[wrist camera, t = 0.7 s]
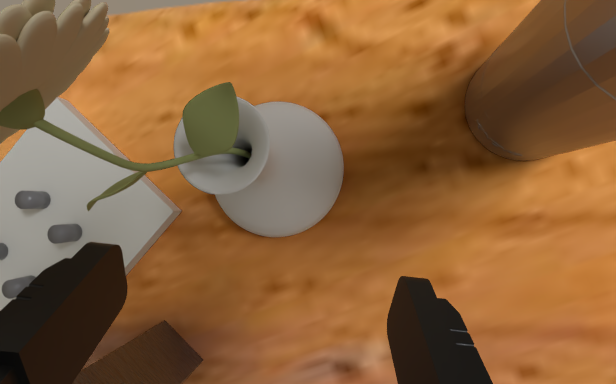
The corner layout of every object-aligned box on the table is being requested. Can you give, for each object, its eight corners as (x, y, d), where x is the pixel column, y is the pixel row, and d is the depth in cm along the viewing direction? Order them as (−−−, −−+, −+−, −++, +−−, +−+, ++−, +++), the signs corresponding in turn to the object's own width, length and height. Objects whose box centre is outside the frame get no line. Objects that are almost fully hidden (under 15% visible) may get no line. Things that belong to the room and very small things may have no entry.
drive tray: (67, 100, 34) (35, 88, 31) (181, 210, 32) (161, 211, 29) (-68, 267, 36) (-114, 273, 32) (33, 383, 34) (-3, 403, 30)
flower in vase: (319, 87, 31) (176, -371, 6) (362, 211, 30) (394, 238, 5) (185, 139, 33) (-353, -68, 8) (223, 258, 32) (-250, 449, 7)
